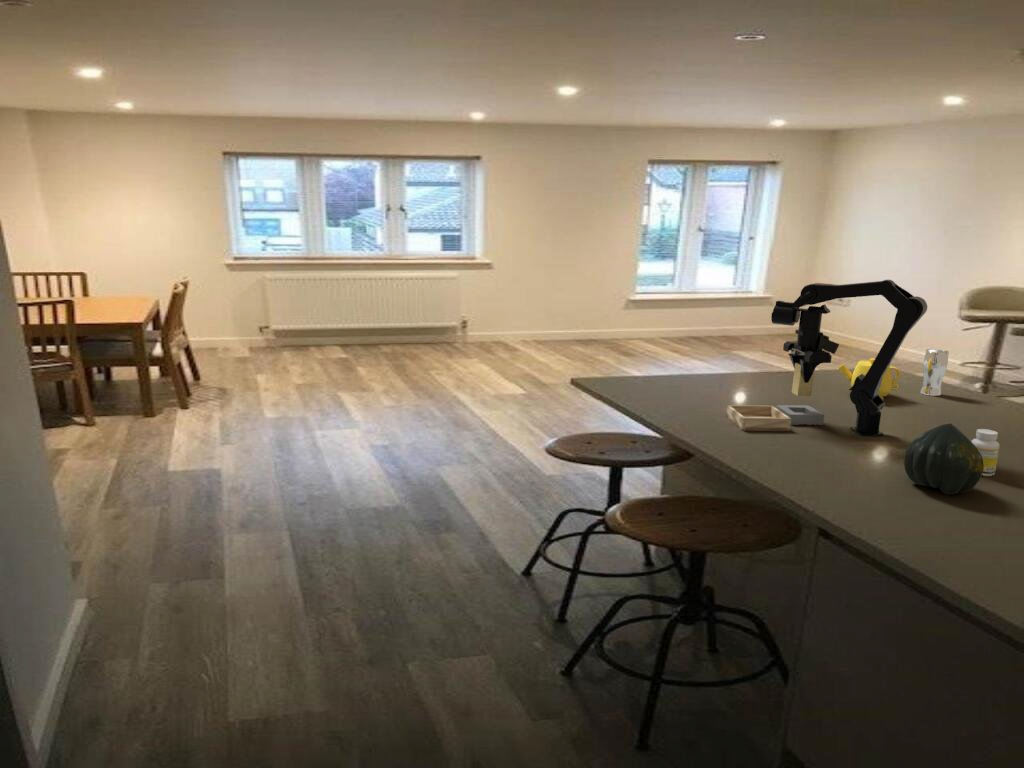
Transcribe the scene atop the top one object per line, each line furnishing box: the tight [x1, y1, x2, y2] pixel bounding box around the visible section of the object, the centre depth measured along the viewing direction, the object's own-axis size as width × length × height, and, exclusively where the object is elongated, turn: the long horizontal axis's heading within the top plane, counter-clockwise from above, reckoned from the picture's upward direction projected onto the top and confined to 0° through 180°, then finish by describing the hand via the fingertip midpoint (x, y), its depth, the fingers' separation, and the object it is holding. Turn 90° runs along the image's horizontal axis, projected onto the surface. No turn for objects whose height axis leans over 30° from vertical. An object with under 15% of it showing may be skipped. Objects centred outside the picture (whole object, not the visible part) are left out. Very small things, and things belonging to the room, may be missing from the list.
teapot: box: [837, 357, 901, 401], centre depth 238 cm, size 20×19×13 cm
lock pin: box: [791, 363, 815, 397], centre depth 206 cm, size 4×4×9 cm
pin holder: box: [775, 404, 825, 426], centre depth 208 cm, size 10×10×3 cm
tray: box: [725, 404, 792, 432], centre depth 204 cm, size 14×14×4 cm
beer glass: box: [920, 348, 949, 397], centre depth 240 cm, size 7×7×15 cm
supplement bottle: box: [970, 428, 1001, 477], centre depth 167 cm, size 6×6×10 cm
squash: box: [903, 423, 984, 495], centre depth 157 cm, size 14×15×15 cm
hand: (803, 380), depth 206 cm, fingers closed on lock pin, 4 cm apart
